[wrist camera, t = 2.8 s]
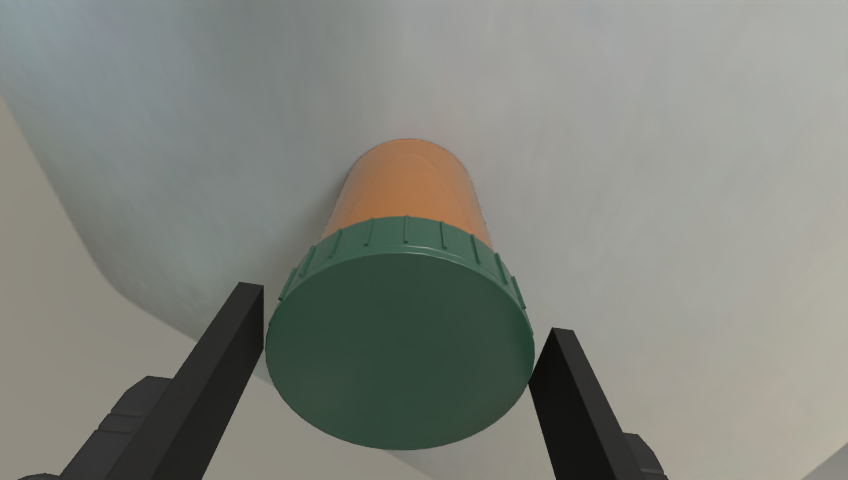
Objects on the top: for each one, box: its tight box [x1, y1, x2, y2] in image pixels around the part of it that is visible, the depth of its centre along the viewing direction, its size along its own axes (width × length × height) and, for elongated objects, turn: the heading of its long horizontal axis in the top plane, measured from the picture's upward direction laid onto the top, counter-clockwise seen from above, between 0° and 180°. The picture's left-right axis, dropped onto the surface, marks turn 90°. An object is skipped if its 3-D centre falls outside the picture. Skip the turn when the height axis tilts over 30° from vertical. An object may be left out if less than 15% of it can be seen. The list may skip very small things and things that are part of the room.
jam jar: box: [318, 139, 494, 252], centre depth 18 cm, size 8×8×12 cm
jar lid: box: [265, 215, 535, 450], centre depth 14 cm, size 8×8×2 cm
